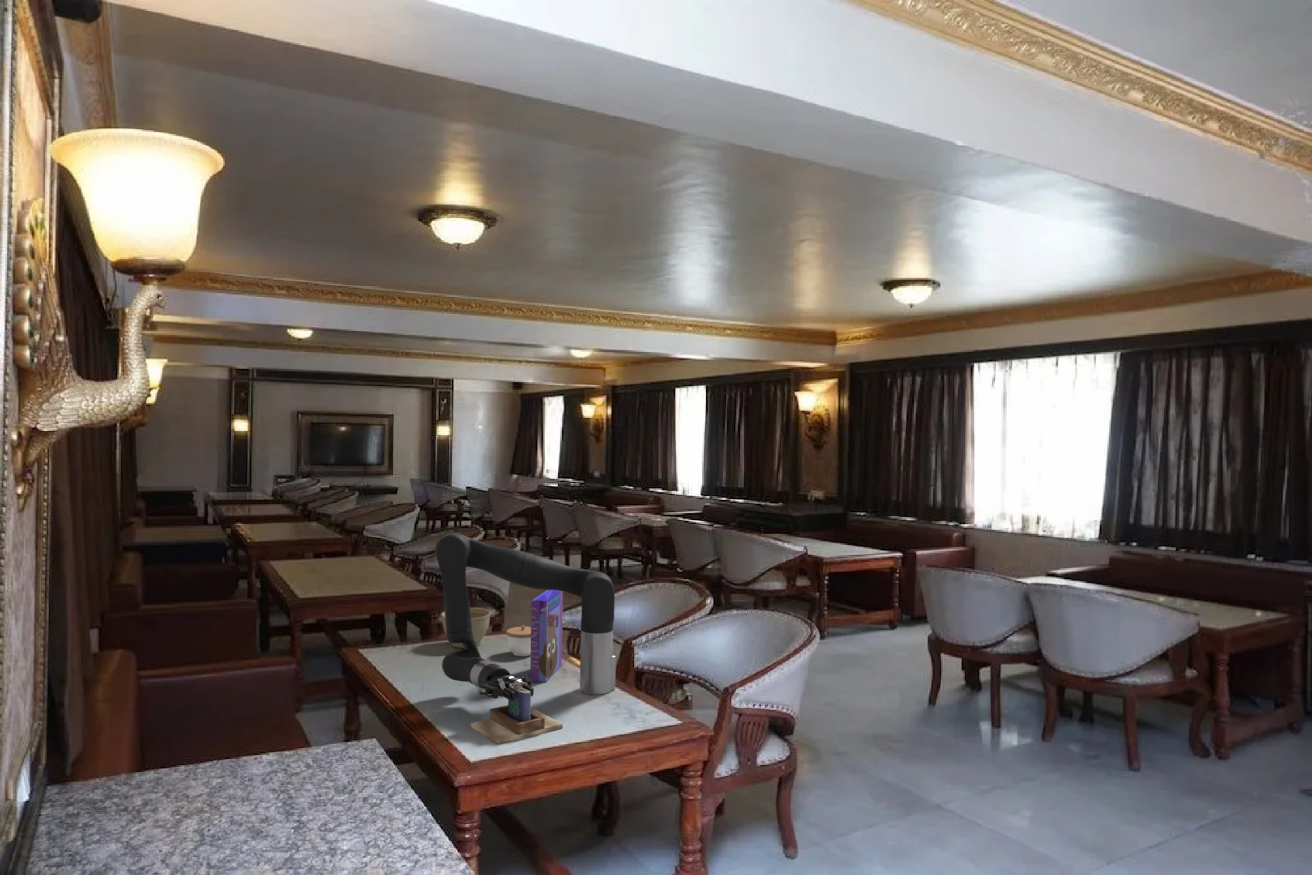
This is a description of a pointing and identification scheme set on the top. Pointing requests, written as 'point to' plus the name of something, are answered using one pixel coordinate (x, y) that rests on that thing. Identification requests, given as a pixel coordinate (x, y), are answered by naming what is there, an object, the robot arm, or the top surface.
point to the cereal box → (546, 635)
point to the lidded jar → (519, 640)
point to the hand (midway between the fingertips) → (522, 694)
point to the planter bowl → (474, 624)
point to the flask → (519, 703)
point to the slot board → (514, 725)
